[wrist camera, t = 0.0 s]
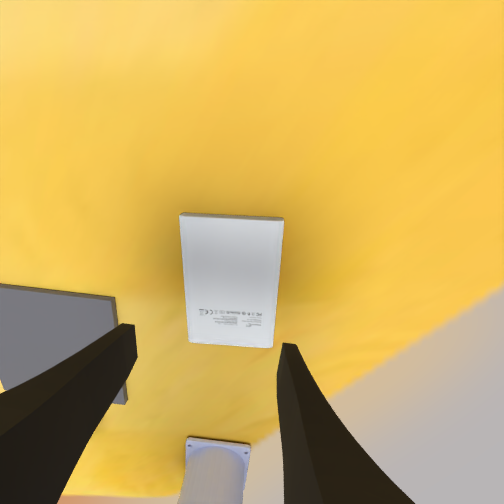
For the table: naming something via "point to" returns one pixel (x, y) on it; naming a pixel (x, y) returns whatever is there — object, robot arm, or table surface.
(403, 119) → the table surface
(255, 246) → the external hard drive
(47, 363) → the mat
